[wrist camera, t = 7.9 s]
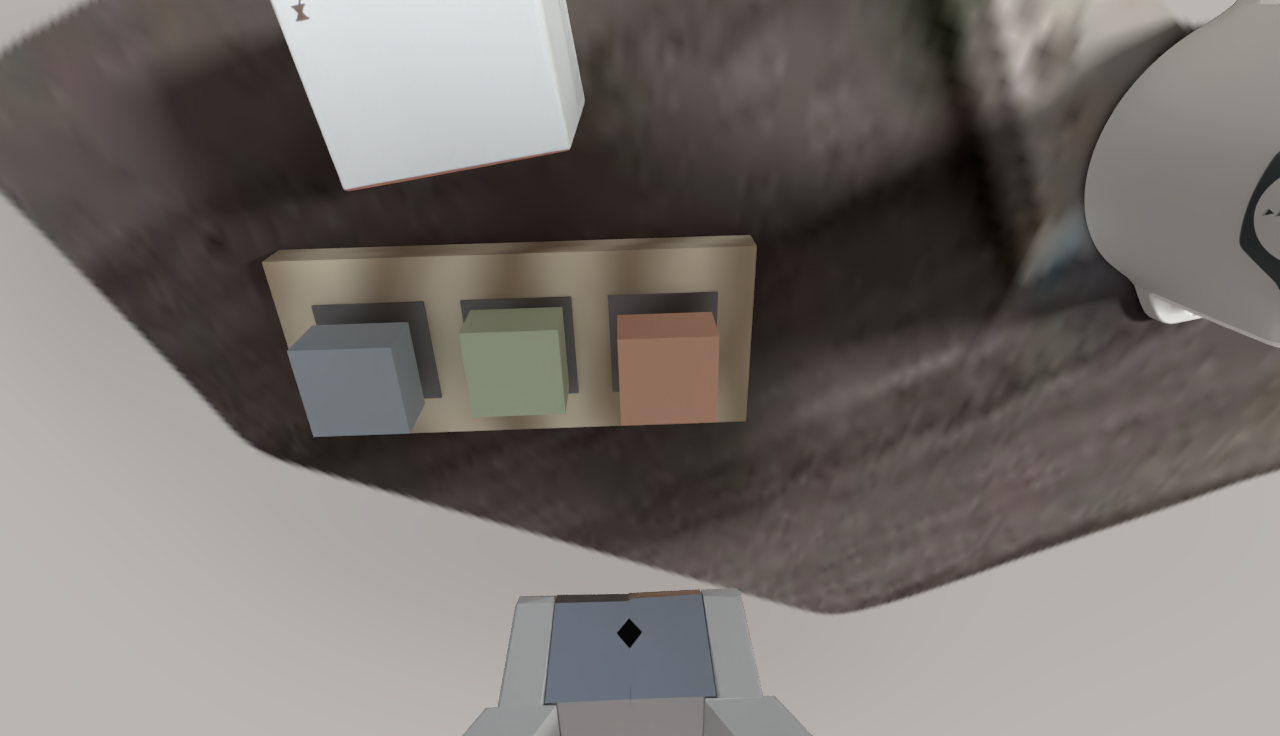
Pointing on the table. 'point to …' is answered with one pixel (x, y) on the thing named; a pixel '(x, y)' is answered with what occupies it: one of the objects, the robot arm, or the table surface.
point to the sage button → (515, 361)
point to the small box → (434, 82)
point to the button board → (527, 278)
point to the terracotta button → (668, 368)
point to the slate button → (358, 379)
